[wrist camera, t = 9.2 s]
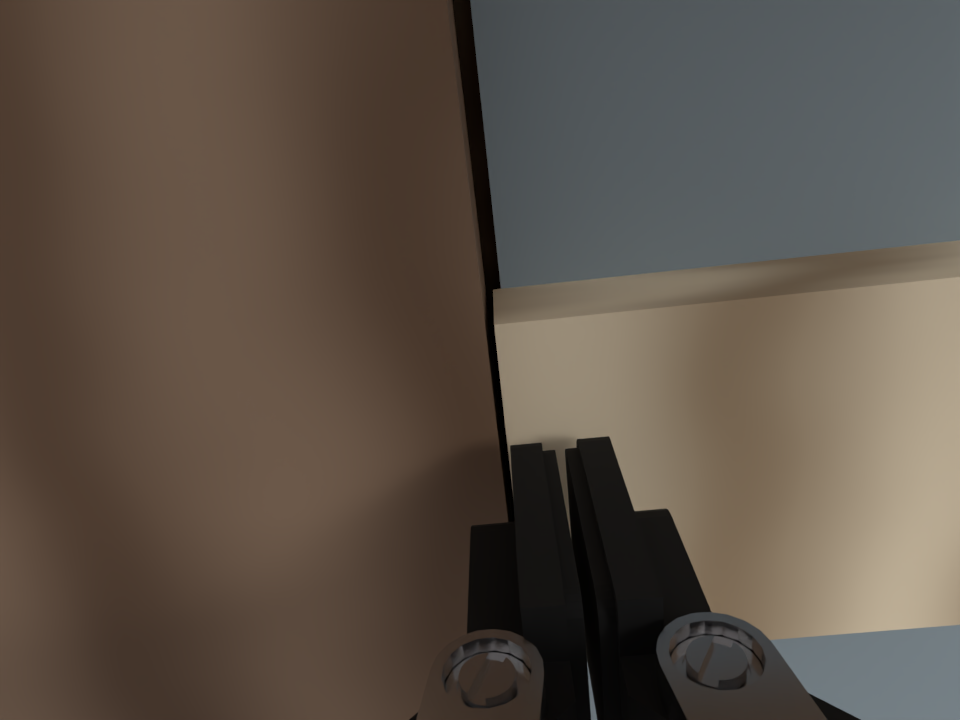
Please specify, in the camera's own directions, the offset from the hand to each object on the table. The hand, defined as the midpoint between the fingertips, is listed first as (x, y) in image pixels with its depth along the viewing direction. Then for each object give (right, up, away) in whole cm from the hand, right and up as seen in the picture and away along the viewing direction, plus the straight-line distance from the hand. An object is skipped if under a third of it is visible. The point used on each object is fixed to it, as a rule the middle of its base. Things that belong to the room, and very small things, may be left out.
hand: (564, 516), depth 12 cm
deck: (-8, 0, +3) cm, 9 cm away
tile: (+4, +1, +2) cm, 5 cm away
